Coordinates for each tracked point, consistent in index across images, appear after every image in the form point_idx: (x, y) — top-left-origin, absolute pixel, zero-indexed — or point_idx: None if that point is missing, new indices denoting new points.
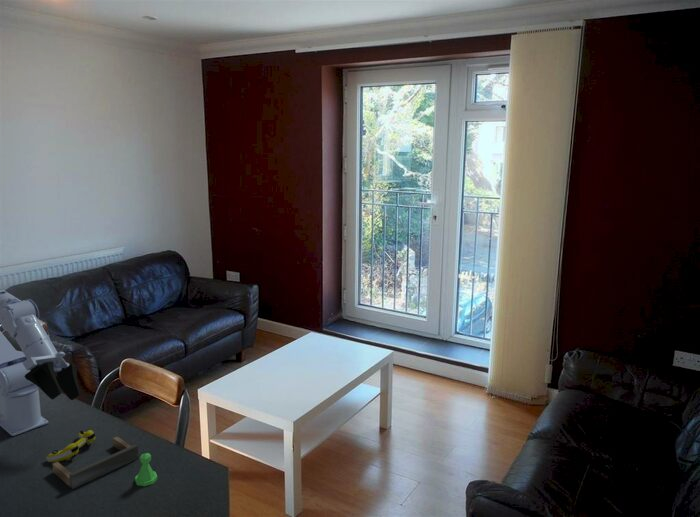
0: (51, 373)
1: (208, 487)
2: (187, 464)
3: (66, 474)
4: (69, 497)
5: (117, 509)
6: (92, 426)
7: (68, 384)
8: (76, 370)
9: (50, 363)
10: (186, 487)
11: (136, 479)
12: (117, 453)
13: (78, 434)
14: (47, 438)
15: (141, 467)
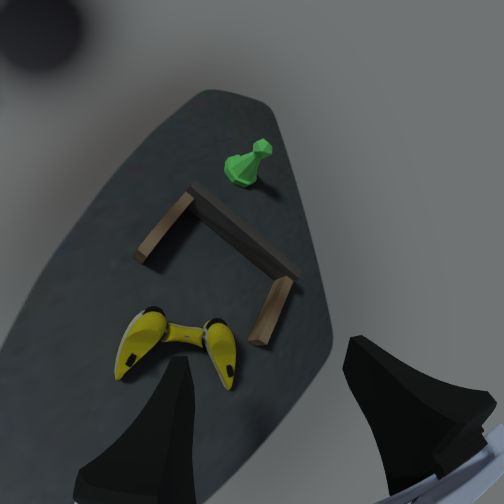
0: (436, 381)
1: (238, 105)
2: (193, 121)
3: (286, 293)
4: None
5: (298, 198)
6: (54, 369)
7: (182, 438)
8: (96, 462)
9: (475, 405)
10: (243, 125)
11: (251, 181)
12: (228, 212)
13: (121, 376)
14: None
15: (257, 164)
